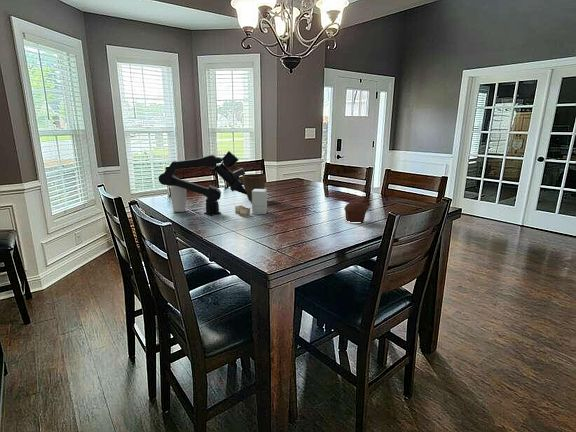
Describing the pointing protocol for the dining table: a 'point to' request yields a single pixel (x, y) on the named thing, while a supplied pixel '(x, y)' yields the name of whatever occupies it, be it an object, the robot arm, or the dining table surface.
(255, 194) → the supplement box
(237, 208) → the marked block
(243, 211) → the marked block
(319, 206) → the dining table surface
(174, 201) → the coffee cup
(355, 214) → the muffin
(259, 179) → the plant pot
